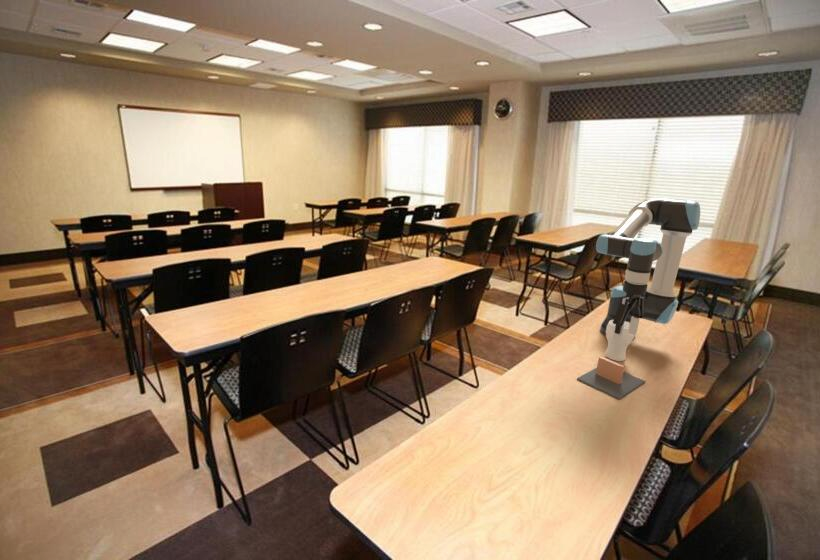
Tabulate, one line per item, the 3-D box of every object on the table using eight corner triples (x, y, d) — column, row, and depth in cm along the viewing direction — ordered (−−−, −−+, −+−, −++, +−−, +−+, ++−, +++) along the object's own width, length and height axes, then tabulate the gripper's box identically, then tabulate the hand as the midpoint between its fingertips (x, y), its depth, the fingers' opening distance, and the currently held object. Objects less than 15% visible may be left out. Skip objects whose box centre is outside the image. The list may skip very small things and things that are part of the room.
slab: (598, 372, 157) (601, 356, 155) (621, 383, 150) (624, 366, 148) (595, 373, 156) (598, 357, 154) (619, 384, 149) (622, 367, 147)
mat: (604, 364, 164) (604, 363, 164) (645, 382, 152) (645, 381, 152) (576, 379, 152) (577, 378, 152) (619, 399, 140) (619, 398, 140)
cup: (626, 365, 164) (633, 331, 160) (598, 357, 170) (604, 324, 166) (631, 356, 172) (638, 323, 168) (604, 348, 178) (610, 317, 174)
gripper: (640, 274, 155) (629, 326, 162) (609, 284, 142) (598, 341, 148) (661, 279, 150) (649, 333, 156) (630, 290, 136) (618, 349, 142)
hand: (624, 337), depth 152 cm, fingers open, 11 cm apart
